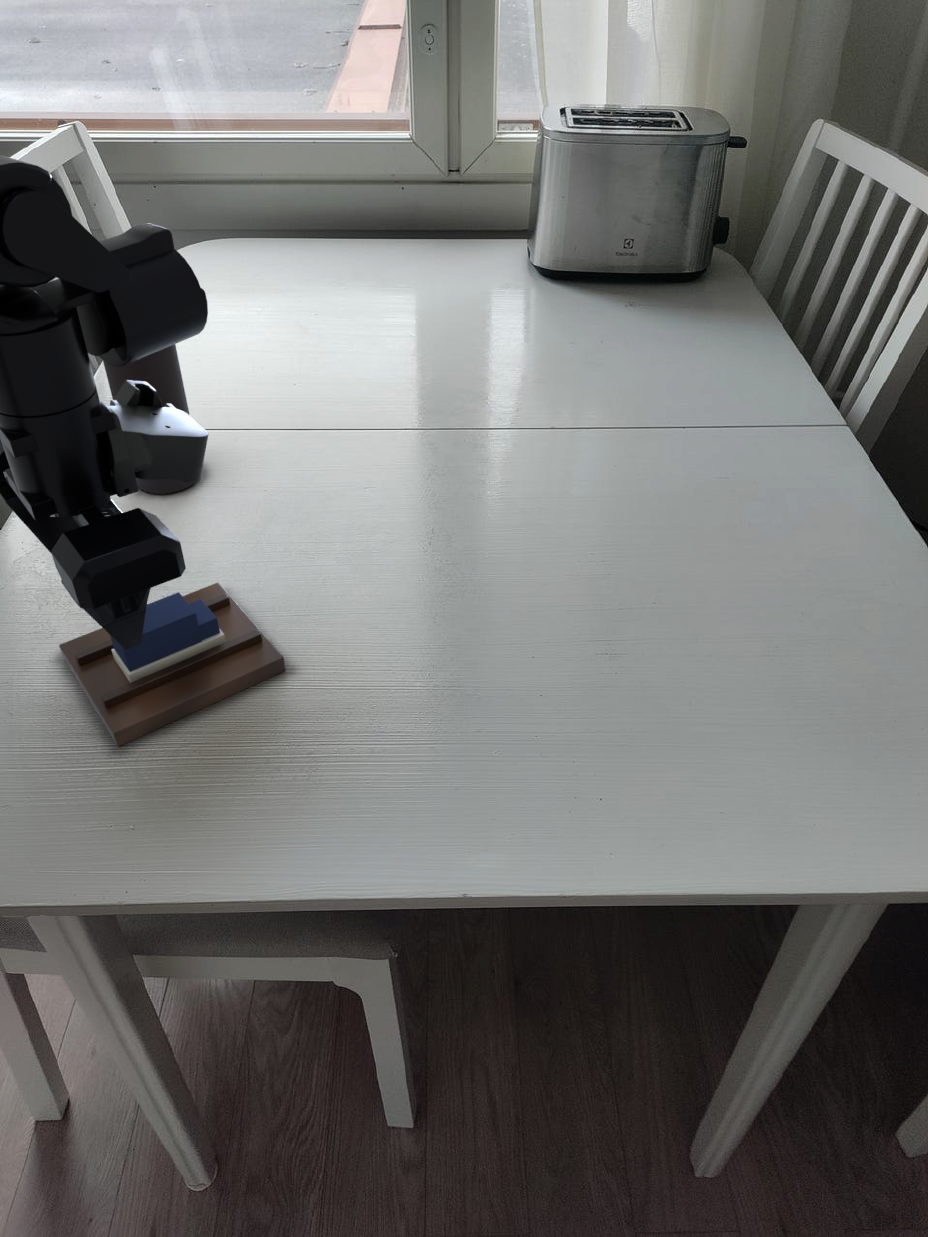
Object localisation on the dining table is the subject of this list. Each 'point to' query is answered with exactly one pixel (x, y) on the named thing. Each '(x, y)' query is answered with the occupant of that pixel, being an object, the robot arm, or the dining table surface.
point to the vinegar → (169, 385)
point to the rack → (173, 672)
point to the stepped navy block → (169, 636)
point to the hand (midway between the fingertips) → (105, 609)
